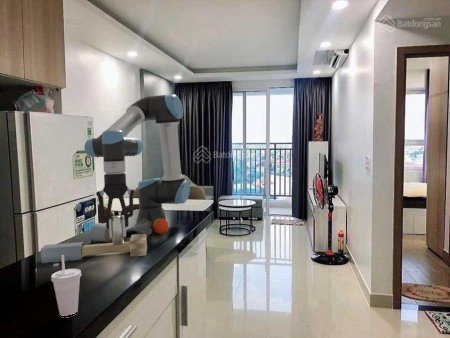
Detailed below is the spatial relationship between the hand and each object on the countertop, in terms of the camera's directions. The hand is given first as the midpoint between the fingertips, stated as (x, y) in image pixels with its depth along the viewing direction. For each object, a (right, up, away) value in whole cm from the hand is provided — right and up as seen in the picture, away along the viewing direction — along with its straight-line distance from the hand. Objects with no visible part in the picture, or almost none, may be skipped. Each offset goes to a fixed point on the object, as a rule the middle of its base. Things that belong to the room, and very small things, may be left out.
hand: (118, 236), depth 124 cm
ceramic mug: (-12, -6, +21) cm, 24 cm away
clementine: (+10, -5, +29) cm, 31 cm away
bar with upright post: (-4, -6, 0) cm, 7 cm away
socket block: (+7, -6, +2) cm, 10 cm away
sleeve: (-18, -7, -3) cm, 20 cm away
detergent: (+2, -6, +23) cm, 23 cm away
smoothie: (+3, -9, -45) cm, 46 cm away
